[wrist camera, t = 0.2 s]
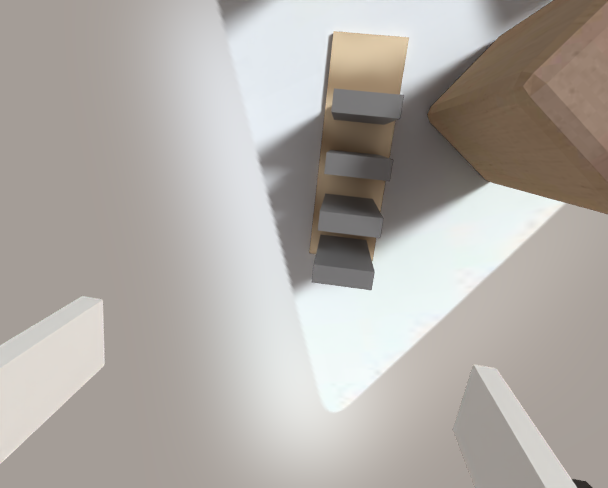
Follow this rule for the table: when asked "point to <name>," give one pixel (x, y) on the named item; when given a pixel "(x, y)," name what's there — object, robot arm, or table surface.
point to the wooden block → (538, 106)
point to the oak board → (355, 135)
